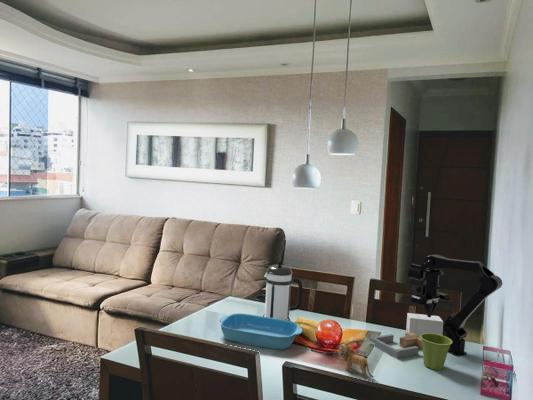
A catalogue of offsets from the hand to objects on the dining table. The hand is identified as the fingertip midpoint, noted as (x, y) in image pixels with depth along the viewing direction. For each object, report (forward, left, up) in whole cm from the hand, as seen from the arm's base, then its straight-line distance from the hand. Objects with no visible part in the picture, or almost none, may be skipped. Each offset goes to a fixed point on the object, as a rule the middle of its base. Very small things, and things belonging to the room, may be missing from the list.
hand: (428, 317), depth 195 cm
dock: (0, +21, -12) cm, 24 cm away
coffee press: (+48, +50, -12) cm, 70 cm away
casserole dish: (+29, +70, -12) cm, 77 cm away
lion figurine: (-12, +51, -12) cm, 54 cm away
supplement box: (+13, 0, -8) cm, 15 cm away
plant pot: (-19, +17, -12) cm, 28 cm away
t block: (0, +10, -12) cm, 16 cm away
